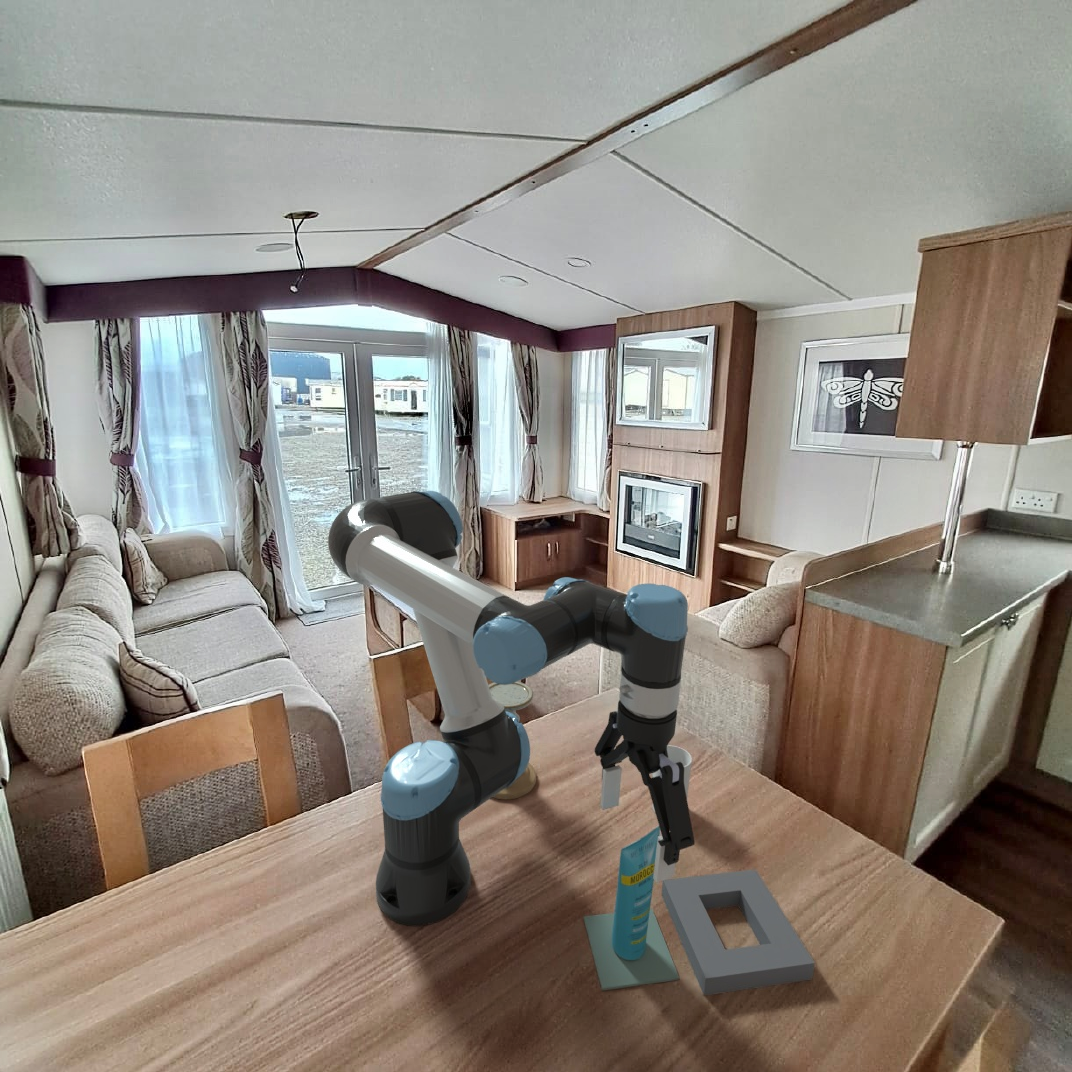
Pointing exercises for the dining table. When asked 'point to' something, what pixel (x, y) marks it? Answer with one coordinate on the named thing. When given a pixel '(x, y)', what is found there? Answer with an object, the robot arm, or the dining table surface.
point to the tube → (634, 896)
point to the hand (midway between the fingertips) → (634, 839)
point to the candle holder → (513, 700)
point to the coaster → (629, 972)
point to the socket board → (735, 967)
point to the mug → (681, 756)
